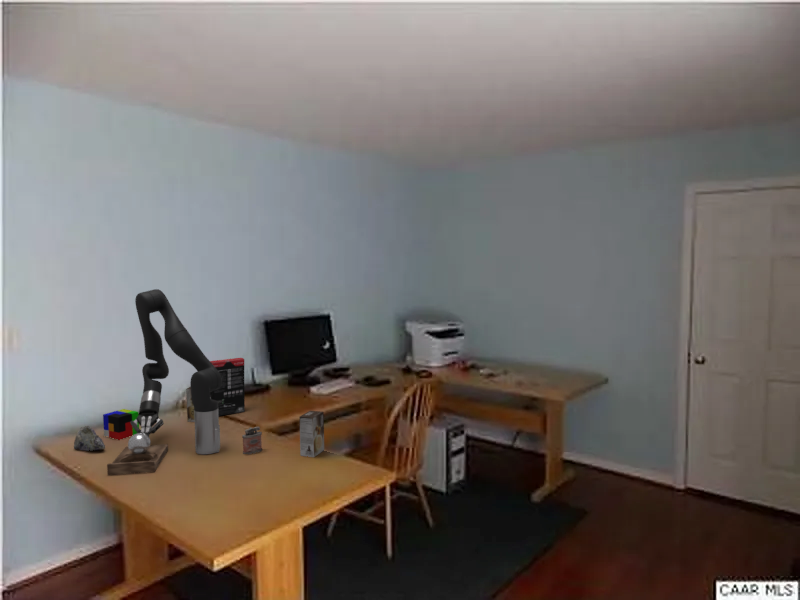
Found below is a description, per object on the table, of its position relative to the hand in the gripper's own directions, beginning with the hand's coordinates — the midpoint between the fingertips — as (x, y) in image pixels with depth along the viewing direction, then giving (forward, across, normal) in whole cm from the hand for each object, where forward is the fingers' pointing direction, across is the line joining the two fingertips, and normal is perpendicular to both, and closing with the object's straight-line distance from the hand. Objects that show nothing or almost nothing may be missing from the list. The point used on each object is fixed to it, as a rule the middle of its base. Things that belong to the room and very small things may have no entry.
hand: (143, 442), depth 230 cm
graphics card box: (-35, +26, +42) cm, 61 cm away
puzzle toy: (-16, -16, +24) cm, 33 cm away
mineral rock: (-3, -24, +11) cm, 26 cm away
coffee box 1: (-29, +14, +36) cm, 48 cm away
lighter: (+7, +42, +1) cm, 43 cm away
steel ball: (+3, 0, -4) cm, 5 cm away
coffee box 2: (+11, +66, -3) cm, 67 cm away
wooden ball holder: (+9, 0, -2) cm, 9 cm away
